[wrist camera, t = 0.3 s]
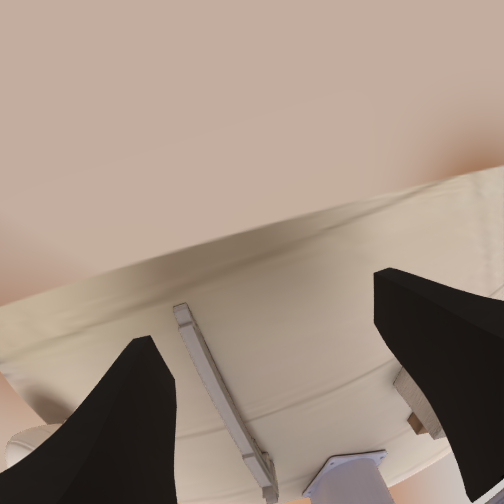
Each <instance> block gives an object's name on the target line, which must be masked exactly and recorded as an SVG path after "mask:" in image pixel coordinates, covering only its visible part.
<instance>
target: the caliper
mask: <svg viewBox="0 0 504 504" xmlns="http://www.w3.org/2000/svg"><path fill="white" fill-rule="evenodd" d="M173 310H174V314H175V316H176V319H177V321H178V324H179V326H180V327H179V328H178V329H179V332H180V334H181V336H182V339H183V341H184V343H185V345H186V348H187V350H188V352H189V354H190V356H191V358H192V361H193V363H194V365H195V367H196V369H197V371H198V373H199V375H200V377H201V379H202V381H203V383H204V385H205V387H206V389H207V391H208V393H209V395H210V397H211V399H212V401H213V403H214V405H215V407H216V409H217V411H218V413H219V414H220V416H221V418H222V420H223V422H224V424H225V426H226V427H227V429H228V431H229V433H230V434H231V436H232V438H233V440H234V441H235V443H236V445H237V447H238V448H239V450H240V452H241V453H242V455H243V460H244V462H245V463H246V465H247V467H248V468H249V470H250V472H251V473H252V475H253V476H254V478H255V480H256V481H257V483H258V484H259V486H260V487H262V489H263V498H266V501H267V504H273V503H277V502H278V497H279V492H278V483H277V478H276V472H275V467H274V463H273V461H269V454H268V453H263V454H262V453H261V451H260V449H259V447H258V446H257V444H256V441H255V439H251V437H250V435H249V433H248V431H247V429H246V427H245V425H244V423H243V422H242V420H241V418H240V416H239V414H238V412H237V410H236V408H235V406H234V404H233V402H232V400H231V398H230V396H229V394H228V391H227V389H226V387H225V385H224V383H223V381H222V379H221V377H220V375H219V372H218V370H217V368H216V366H215V364H214V361H213V359H212V357H211V355H210V352H209V350H208V348H207V346H206V343H205V341H204V339H203V337H202V335H201V333H200V331H199V328H198V326H197V324H196V322H195V320H193V318H192V315H191V313H190V310H189V308H188V306H187V304H186V303H184V304H181V305H178V306H175V307H173Z"/></svg>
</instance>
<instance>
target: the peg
mask: <svg viewBox="0 0 504 504" xmlns="http://www.w3.org/2000/svg"><path fill="white" fill-rule="evenodd" d="M393 385H394V387H395V388H396V389H397V391H398V392H399V393H400V395H401V396H402V397H403V399H404V400H405V401H406V403H407V404H408V405H409V407H410V408H411V409H412V411H413V412H414V413H415V415H416V416H417V417H418V419H419V420H420V421H421V423H422V424H423V426H424V427H425V428H426V430H427V431H428V432H429V434H430V435H431V437H432V438H433V439H434V440H435V439H439V438H443V437H446V434H445V432H444V430H443V428H442V426H441V424H440V422H439V420H438V418H437V416H436V414H435V413H434V411H433V409H432V407H431V405H430V403H429V402H428V400H427V398H426V397H425V395H424V394H423V392H422V391H421V390H420V388H419V387H418V386H417V384H416V383H415V382H414V380H413V379H412V378H411V376H410V375H409V374H408V372H407V371H406V370H405V369H404V367H402V369H401V371H400V373H399V375H398V377H397V378H396V380H395V382H394V384H393Z"/></svg>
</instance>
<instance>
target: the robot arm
mask: <svg viewBox="0 0 504 504" xmlns="http://www.w3.org/2000/svg"><path fill="white" fill-rule="evenodd" d="M374 324H375V326H376V328H377V329H378V331H379V333H380V335H381V336H382V338H383V340H384V341H385V343H386V345H387V346H388V348H389V349H390V350H391V352H392V353H393V354H394V356H395V357H396V358H397V360H398V361H399V362H400V363H401V365H402V366H403V367H404V369H405V370H406V371H407V372H408V374H409V375H410V376H411V378H412V379H413V380H414V382H415V383H416V384H417V386H418V387H419V388H420V390H421V391H422V392H423V394H424V395H425V397H426V398H427V400H428V402H429V403H430V405H431V407H432V409H433V411H434V413H435V414H436V416H437V418H438V420H439V422H440V424H441V426H442V428H443V430H444V432H445V434H446V437H447V439H448V441H449V443H450V446H451V448H452V451H453V453H454V455H455V458H456V461H457V463H458V466H459V469H460V472H461V476H462V479H463V482H464V486H465V490H466V494H467V496H468V498H469V499H470V501H471V502H472V503H473V502H474V501H476V500H477V499H478V498H480V497H481V496H483V495H484V494H485V493H486V492H488V491H489V490H490V489H492V488H493V487H494V486H495V485H497V484H498V483H499V482H500V481H501V480H503V479H504V301H502V300H497V299H492V298H487V297H483V296H479V295H475V294H472V293H468V292H465V291H462V290H458V289H455V288H452V287H449V286H446V285H443V284H440V283H437V282H434V281H431V280H428V279H425V278H422V277H419V276H416V275H413V274H410V273H407V272H404V271H401V270H398V269H394V268H386V269H383V270H381V271H378V272H375V273H374ZM176 411H177V403H176V388H175V379H174V377H173V375H172V374H171V372H170V370H169V369H168V367H167V365H166V363H165V362H164V360H163V358H162V356H161V354H160V353H159V351H158V349H157V347H156V345H155V343H154V341H153V340H152V338H151V336H150V335H149V336H144V337H140V338H135V339H133V340H132V341H131V342H130V343H129V344H128V345H127V346H126V348H125V349H124V350H123V351H122V353H121V354H120V355H119V357H118V358H117V359H116V360H115V362H114V363H113V364H112V366H111V367H110V368H109V370H108V371H107V372H106V374H105V375H104V376H103V377H102V379H101V380H100V381H99V383H98V384H97V385H96V386H95V388H94V389H93V390H92V391H91V393H90V394H89V395H88V396H87V397H86V399H85V400H84V401H83V402H82V404H81V405H80V406H79V407H78V408H77V409H76V411H75V412H74V413H73V414H72V415H71V416H70V417H69V418H68V419H67V420H66V421H65V422H64V423H63V424H62V425H61V426H60V427H59V428H58V429H57V430H56V431H55V432H54V433H53V434H52V435H51V436H50V437H49V438H48V439H46V440H45V441H44V442H43V443H42V444H41V445H39V446H38V447H37V448H36V449H35V450H34V451H32V452H31V453H30V454H29V455H27V456H26V457H24V458H23V459H22V460H20V461H19V462H17V463H16V464H14V465H13V466H11V467H10V468H8V469H7V470H5V471H3V472H2V473H0V504H177V497H176V488H175V479H174V449H175V430H176ZM386 455H387V451H380V452H373V453H365V454H357V455H347V456H335V457H331V458H330V459H329V460H328V462H327V463H326V464H325V466H324V467H323V468H322V470H321V471H320V473H319V474H318V475H317V477H316V478H315V479H314V480H313V482H312V483H311V484H310V486H309V487H308V488H307V489H306V491H305V492H304V493H303V497H310V500H311V503H312V504H395V502H394V500H393V498H392V497H391V494H390V492H389V490H388V488H387V486H386V484H385V482H384V480H383V478H382V476H381V474H380V472H379V470H378V468H377V466H378V465H379V464H380V462H381V461H382V460H383V459H384V457H385V456H386ZM485 504H504V488H503V489H502V490H501V491H500V492H498V493H497V494H496V495H495V496H494V497H493V498H491V499H490V500H489V501H488V502H486V503H485Z"/></svg>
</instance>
